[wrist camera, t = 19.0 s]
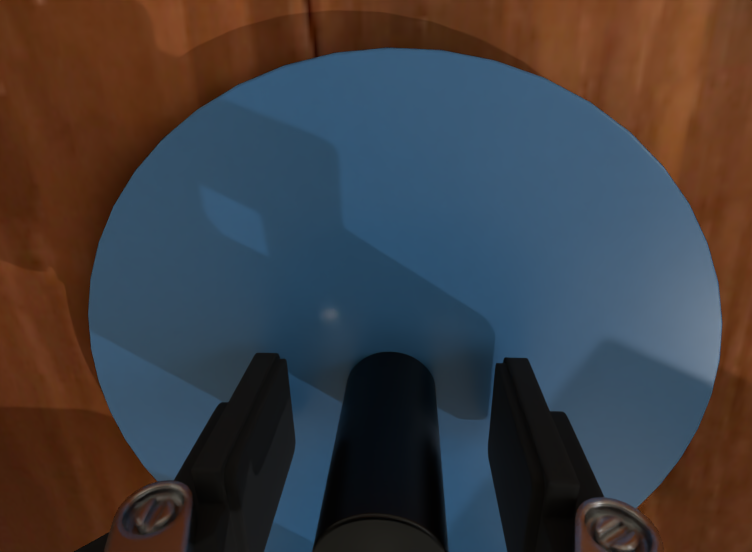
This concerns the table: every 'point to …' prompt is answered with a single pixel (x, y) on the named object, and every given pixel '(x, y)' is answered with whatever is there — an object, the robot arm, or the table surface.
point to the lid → (405, 289)
